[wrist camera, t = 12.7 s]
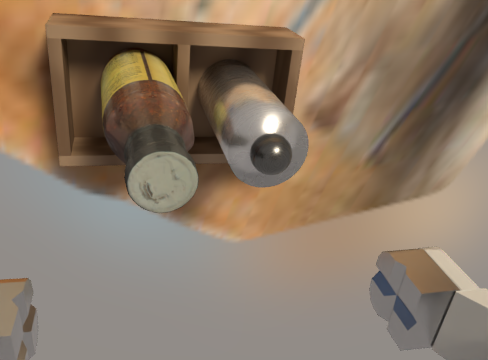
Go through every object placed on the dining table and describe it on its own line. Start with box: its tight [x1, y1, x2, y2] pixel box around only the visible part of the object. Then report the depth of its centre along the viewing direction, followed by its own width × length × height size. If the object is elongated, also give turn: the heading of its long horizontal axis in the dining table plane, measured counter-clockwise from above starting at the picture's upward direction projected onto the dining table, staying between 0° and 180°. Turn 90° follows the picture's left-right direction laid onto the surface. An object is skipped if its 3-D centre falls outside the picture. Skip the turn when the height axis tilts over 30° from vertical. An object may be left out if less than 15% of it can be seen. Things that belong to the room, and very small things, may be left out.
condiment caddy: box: [45, 13, 305, 166], centre depth 42 cm, size 21×12×5 cm, turn 84°
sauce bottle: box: [101, 48, 198, 213], centre depth 33 cm, size 7×6×20 cm
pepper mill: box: [198, 59, 308, 187], centre depth 38 cm, size 6×6×16 cm
